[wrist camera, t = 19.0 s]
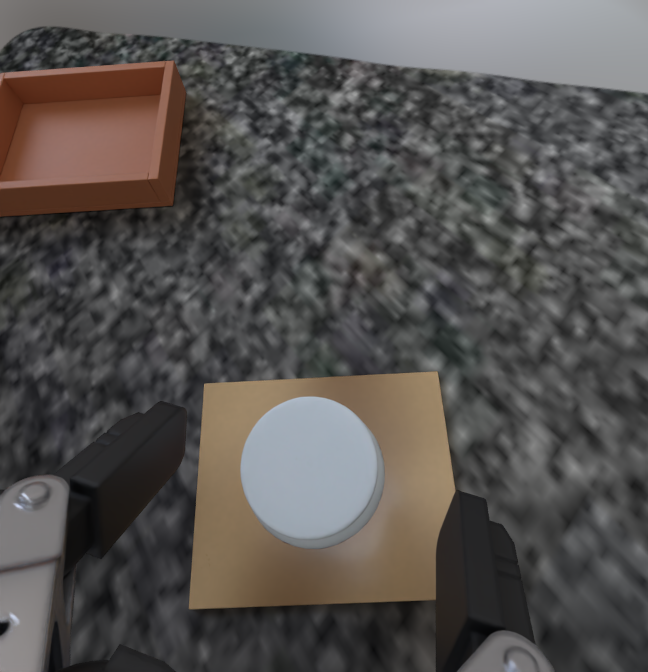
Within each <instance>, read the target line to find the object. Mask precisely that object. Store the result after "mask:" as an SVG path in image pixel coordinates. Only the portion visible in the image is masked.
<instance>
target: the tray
mask: <svg viewBox="0 0 648 672" xmlns="http://www.w3.org/2000/svg"><path fill="white" fill-rule="evenodd" d="M185 98H186V91H185V88H184V85H183V83H182V80H181V78H180V75H179V72H178V70H177V67H176V64H175V62H174V61H166V62H165V61H161V62H147V63H133V64H119V65H105V66H92V67H78V68H64V69H50V70H36V71H22V72H9V73H0V217H3V216H19V215H35V214H50V213H66V212H82V211H98V210H113V209H129V208H145V207H161V206H173V200H174V191H175V183H176V174H177V166H178V157H179V149H180V140H181V132H182V123H183V115H184V106H185Z"/></svg>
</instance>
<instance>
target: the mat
mask: <svg viewBox="0 0 648 672" xmlns="http://www.w3.org/2000/svg"><path fill="white" fill-rule="evenodd" d="M309 396H310V397H321V398H326V399H330V400H333V401H335V402H338V403H340V404H342V405H344V406H346V407H347V408H348V409H350V410H351V411H352V412H353V413H355V414H356V415H357V416H358V417H359V418H360V419H361V421H362V422H363V423H364V424H365V425H366V426H367V427H368V428H369V430H370V431H371V432H372V434H373V435H374V436H375V438H376V440H377V442H378V444H379V446H380V449H381V451H382V455H383V460H384V467H385V481H384V488H383V493H382V496H381V500H380V502H379V504H378V507H377V509H376V511H375V512H374V514H373V516H372V517H371V519H370V520H369V521H368V523H367V524H366V525H365V526H364V527H363V528H362V529H361V530H360V531H359V532H358V533H356V534H355V535H353V536H352V537H350V538H349V539H347V540H345V541H344V542H342V543H339V544H337V545H335V546H331V547H328V548H323V549H305V548H299V547H295V546H292V545H290V544H287V543H284V542H283V541H281V540H279V539H277V538H276V537H274V536H273V535H272V534H271V533H270V532H268V531H267V530H266V529H265V528H264V527H263V525H262V524H261V523H260V522H259V520H258V519H257V517H256V516H255V514H254V512H253V510H252V508H251V507H250V505H249V503H248V501H247V499H246V496H245V494H244V490H243V487H242V482H241V473H240V466H241V456H242V452H243V448H244V445H245V442H246V440H247V438H248V436H249V434H250V432H251V430H252V429H253V427H254V426H255V424H256V423H257V422H258V421H259V419H260V418H262V417H263V416H264V415H265V414H266V413H267V412H268V411H269V410H271V409H272V408H274V407H275V406H277V405H279V404H281V403H283V402H285V401H288V400H291V399H294V398H298V397H309ZM455 492H456V490H455V484H454V477H453V470H452V464H451V457H450V450H449V443H448V437H447V430H446V423H445V417H444V410H443V403H442V397H441V390H440V383H439V376H438V372H418V373H399V374H380V375H360V376H341V377H322V378H303V379H284V380H265V381H246V382H227V383H208V384H204V396H203V410H202V425H201V439H200V454H199V468H198V483H197V497H196V512H195V526H194V541H193V555H192V570H191V584H190V599H189V609H214V608H240V607H266V606H292V605H318V604H344V603H370V602H396V601H422V600H436V546H437V540H438V536H439V532H440V529H441V527H442V524H443V522H444V519H445V516H446V514H447V511H448V509H449V506H450V503H451V501H452V498H453V496H454V494H455Z"/></svg>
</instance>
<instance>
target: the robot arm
mask: <svg viewBox="0 0 648 672" xmlns="http://www.w3.org/2000/svg"><path fill="white" fill-rule="evenodd" d="M186 422H187V411H186V409H185V408H183V407H180V406H176V405H173V404H170V403H166V402H163V401H160V402H158V403H157V404H155V405H154V406H153V407H152V408H151V409H150V410H148V411H147V412H146V413H145V414H142V413H139V412H138V413H136V414H133V415H131V416H129V417H126V418H124V419H121V420H120V421H119V422H117V423H116V424H115V425H114V426H112V427H111V428H110V429H109V430H107V433H104V434H103V435H101V436H100V437H99V438H98V439H97V440H96V442H93V443H91V444H90V445H89V446H88V447H86V448H85V449H84V450H83V451H82V452H80V453H79V454H78V455H77V456H75V457H74V458H73V459H72V460H70V461H69V462H68V463H67V464H66V465H64V466H63V467H62V468H61V469H59V470H58V471H57V472H56V473H54V474H53V475H38V476H32V477H29V478H26V479H23V480H21V481H18V482H16V483H15V484H13V485H11V486H10V487H9V488H7V489H6V490H0V672H176V671H174V670H173V669H172V668H171V667H170V666H169V665H167V664H166V663H165V662H163V661H161V660H158V659H156V658H153V657H151V656H148V655H146V654H143V653H141V652H138V651H136V650H133V649H131V648H128V647H126V646H123V645H121V644H119V646H118V648H117V649H116V651H115V652H114V654H113V655H112V657H111V658H110V660H99V661H89V662H84V663H79V664H75V665H72V666H71V661H70V644H71V629H72V617H73V605H74V593H75V581H76V563H77V562H78V561H79V560H80V559H81V558H82V557H83V556H84V555H85V553H86V554H89V555H92V556H94V557H97V558H100V559H102V557H103V556H104V555H105V554H106V553H107V552H108V550H109V549H110V548H111V547H112V546H113V544H114V543H115V542H116V541H117V540H118V539H119V537H120V536H121V535H122V534H123V533H124V531H125V530H126V529H127V528H128V527H129V526H130V524H131V523H132V522H133V521H134V520H135V518H136V517H137V516H138V515H139V514H140V513H141V511H142V510H143V509H144V508H145V507H146V506H147V504H148V503H149V502H150V501H151V500H152V498H153V497H154V496H155V495H156V494H157V493H158V491H159V490H160V489H161V488H162V487H163V485H164V484H165V483H166V482H167V481H168V480H169V478H170V477H171V476H172V475H173V474H174V472H175V471H176V470H177V469H178V467H179V465H180V464H181V461H182V459H183V456H184V452H185V441H186ZM517 563H518V560H517V555H516V550H515V545H514V542H513V541H512V539H511V538H510V536H509V534H508V533H507V531H506V530H505V528H504V526H503V525H502V524H499V523H495V522H492V521H489V514H488V508H487V502H486V500H485V499H484V498H481V497H478V496H475V495H471V494H468V493H464V492H461V491H458V490H457V491H456V492H455V494H454V496H453V498H452V501H451V503H450V506H449V509H448V511H447V514H446V516H445V519H444V522H443V524H442V527H441V529H440V532H439V536H438V540H437V546H436V672H555V671H554V669H553V667H552V665H551V663H550V662H549V660H548V659H547V657H546V656H545V655H544V654H543V652H542V651H541V650H540V649H539V648H538V647H537V646H536V644H535V641H534V636H533V631H532V626H531V622H530V617H529V612H528V607H527V603H526V598H525V593H524V588H523V584H522V581H521V574H520V569H519V565H517Z"/></svg>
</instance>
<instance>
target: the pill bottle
mask: <svg viewBox="0 0 648 672" xmlns="http://www.w3.org/2000/svg"><path fill="white" fill-rule="evenodd" d="M240 473H241V482H242V487H243V490H244V494H245V496H246V499H247V501H248V503H249V505H250V507H251V508H252V510H253V512H254V514H255V516H256V517H257V519H258V520H259V522H260V523H261V524H262V525H263V527H264V528H265V529H266V530H267V531H268V532H270V533H271V534H272V535H273V536H274V537H276V538H277V539H279V540H281V541H283V542H284V543H287V544H290V545H292V546H295V547H299V548H305V549H323V548H328V547H331V546H335V545H337V544H339V543H342V542H344V541H345V540H347V539H349V538H350V537H352V536H353V535H355V534H356V533H358V532H359V531H360V530H361V529H362V528H363V527H364V526H365V525H366V524H367V523H368V521H369V520H370V519H371V517H372V516H373V514H374V512H375V511H376V509H377V507H378V504H379V502H380V500H381V496H382V493H383V488H384V481H385V467H384V460H383V455H382V451H381V449H380V446H379V444H378V442H377V440H376V438H375V436H374V435H373V434H372V432H371V431H370V430H369V428H368V427H367V426H366V425H365V424H364V423H363V422H362V421H361V419H360V418H359V417H358V416H357V415H356V414H355V413H353V412H352V411H351V410H350V409H348V408H347V407H346V406H344V405H342V404H340V403H338V402H335V401H333V400H330V399H326V398H321V397H310V396H309V397H298V398H294V399H291V400H288V401H285V402H283V403H281V404H279V405H277V406H275V407H274V408H272V409H271V410H269V411H268V412H267V413H266V414H265V415H264V416H263V417H262V418H260V419H259V421H258V422H257V423H256V424H255V426H254V427H253V429H252V430H251V432H250V434H249V436H248V438H247V440H246V442H245V445H244V448H243V452H242V456H241V466H240Z"/></svg>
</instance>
